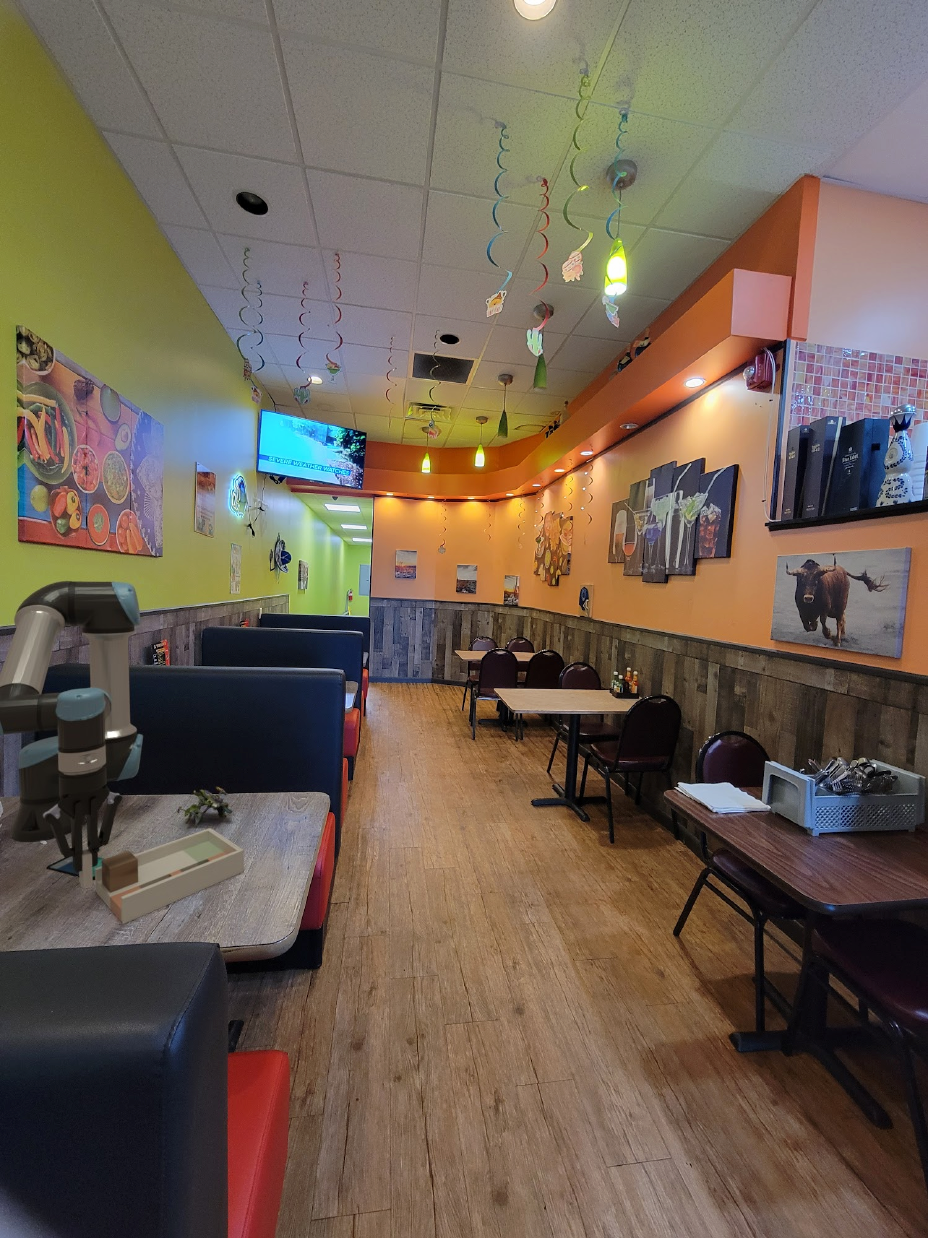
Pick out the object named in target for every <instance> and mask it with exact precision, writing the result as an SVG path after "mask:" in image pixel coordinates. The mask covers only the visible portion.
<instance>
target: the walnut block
mask: <svg viewBox="0 0 928 1238" xmlns="http://www.w3.org/2000/svg"><path fill="white" fill-rule="evenodd" d="M134 855H135V854H133V853H132V852H131V851H130V850H127V851H124V852H122V853H117V854H116V855H113V856H111V857H110V856H109V857H107V858H103V859H104V860H102V884H103V885H104V886H105V887H106V888H107V889H108V891H109V892H110V893H111V892H114V891H117V890H119V889H122V888H124V887H127V886H129V885H132V884H135V883H137V882H138V859H137V858H136V857H135V856H134Z"/></svg>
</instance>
